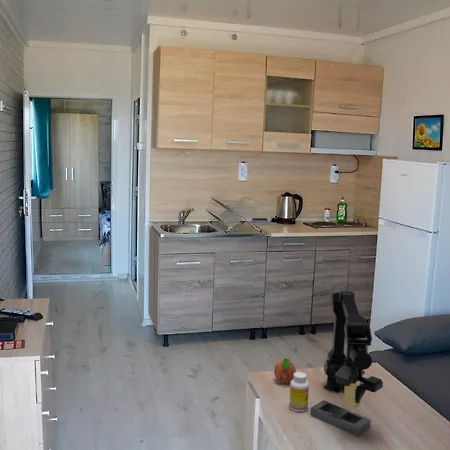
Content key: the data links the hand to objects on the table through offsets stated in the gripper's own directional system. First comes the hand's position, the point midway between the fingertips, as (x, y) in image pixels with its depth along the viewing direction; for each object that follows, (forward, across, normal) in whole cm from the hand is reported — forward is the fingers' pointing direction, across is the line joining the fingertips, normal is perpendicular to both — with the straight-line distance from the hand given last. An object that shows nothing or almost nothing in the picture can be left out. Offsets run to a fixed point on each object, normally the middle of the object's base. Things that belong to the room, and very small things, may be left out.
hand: (352, 400), depth 179 cm
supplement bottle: (+9, -20, -3) cm, 22 cm away
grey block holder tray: (+9, -4, 0) cm, 10 cm away
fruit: (+10, -37, +11) cm, 39 cm away
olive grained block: (+2, 0, 0) cm, 2 cm away
